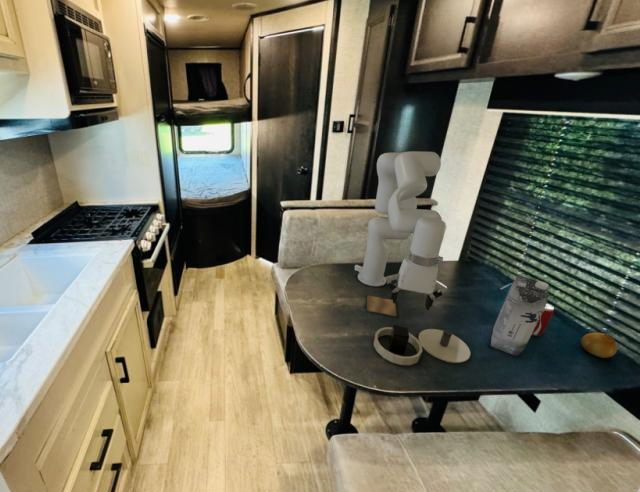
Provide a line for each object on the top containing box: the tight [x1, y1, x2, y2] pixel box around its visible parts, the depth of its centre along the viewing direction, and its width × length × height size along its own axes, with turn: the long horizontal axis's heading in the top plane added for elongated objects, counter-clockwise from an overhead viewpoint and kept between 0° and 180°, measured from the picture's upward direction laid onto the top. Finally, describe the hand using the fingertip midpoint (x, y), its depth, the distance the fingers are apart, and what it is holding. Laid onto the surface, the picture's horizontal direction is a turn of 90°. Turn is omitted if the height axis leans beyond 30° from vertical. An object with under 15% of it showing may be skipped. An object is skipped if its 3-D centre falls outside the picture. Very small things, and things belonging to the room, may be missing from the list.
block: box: [388, 324, 410, 355], centre depth 107 cm, size 5×5×8 cm
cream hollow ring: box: [373, 326, 423, 366], centre depth 108 cm, size 15×15×4 cm
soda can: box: [531, 302, 555, 337], centre depth 113 cm, size 5×5×12 cm
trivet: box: [366, 294, 397, 317], centre depth 130 cm, size 11×11×1 cm
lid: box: [417, 328, 471, 364], centre depth 108 cm, size 16×16×7 cm
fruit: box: [581, 332, 618, 359], centre depth 105 cm, size 8×8×8 cm
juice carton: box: [490, 274, 550, 357], centre depth 104 cm, size 9×10×27 cm
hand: (410, 304), depth 101 cm, fingers open, 9 cm apart
